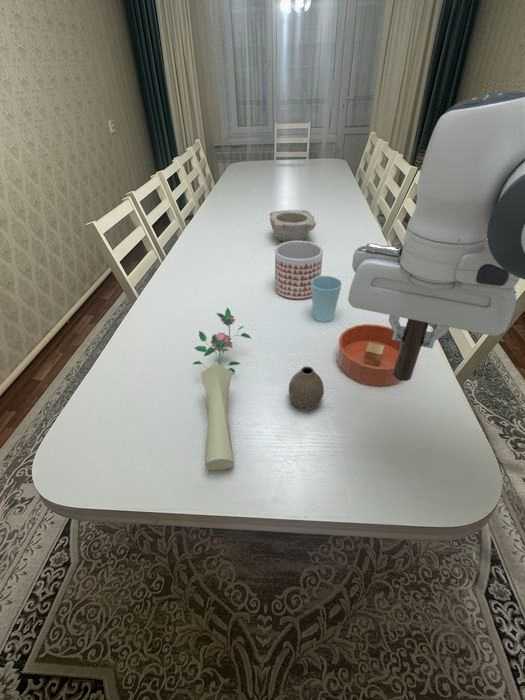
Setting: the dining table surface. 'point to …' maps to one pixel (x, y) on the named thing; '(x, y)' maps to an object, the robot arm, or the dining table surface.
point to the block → (373, 354)
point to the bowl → (354, 352)
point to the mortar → (291, 224)
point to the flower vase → (218, 399)
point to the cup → (325, 297)
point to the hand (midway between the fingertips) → (412, 342)
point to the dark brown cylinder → (409, 349)
